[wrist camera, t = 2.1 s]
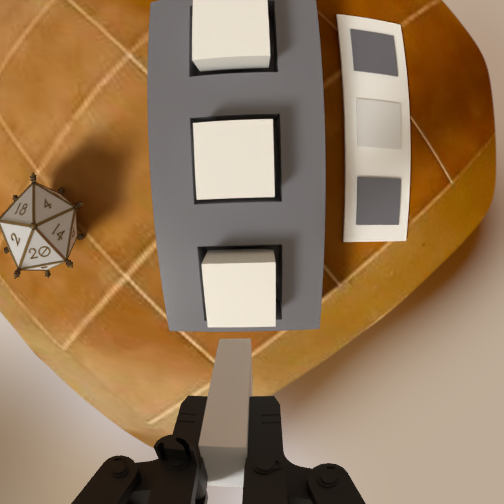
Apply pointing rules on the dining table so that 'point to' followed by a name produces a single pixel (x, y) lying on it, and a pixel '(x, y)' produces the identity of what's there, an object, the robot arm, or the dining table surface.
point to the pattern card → (374, 130)
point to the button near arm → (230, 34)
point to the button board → (285, 163)
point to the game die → (40, 228)
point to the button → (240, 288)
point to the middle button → (234, 159)
